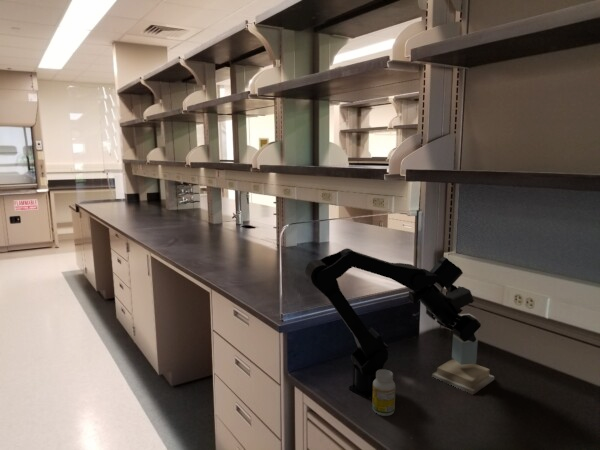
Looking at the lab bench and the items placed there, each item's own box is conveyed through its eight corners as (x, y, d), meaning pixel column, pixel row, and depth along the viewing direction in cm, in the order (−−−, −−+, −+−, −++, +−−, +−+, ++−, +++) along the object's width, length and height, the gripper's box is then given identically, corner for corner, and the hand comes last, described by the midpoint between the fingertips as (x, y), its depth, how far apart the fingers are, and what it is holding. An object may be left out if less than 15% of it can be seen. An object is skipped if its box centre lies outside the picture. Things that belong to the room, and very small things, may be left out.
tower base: (431, 377, 120) (432, 367, 120) (454, 364, 128) (454, 354, 127) (472, 394, 111) (473, 384, 111) (494, 379, 119) (494, 369, 118)
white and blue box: (460, 364, 116) (463, 320, 114) (451, 357, 120) (454, 314, 119) (476, 363, 117) (479, 319, 115) (466, 355, 121) (469, 313, 120)
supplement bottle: (392, 418, 101) (393, 380, 99) (369, 413, 103) (370, 376, 101) (396, 406, 106) (397, 370, 104) (374, 402, 108) (375, 366, 106)
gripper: (476, 289, 105) (512, 328, 109) (437, 270, 124) (470, 305, 127) (445, 321, 105) (482, 360, 109) (411, 298, 123) (444, 332, 127)
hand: (469, 337), depth 118 cm, fingers closed on white and blue box, 4 cm apart
